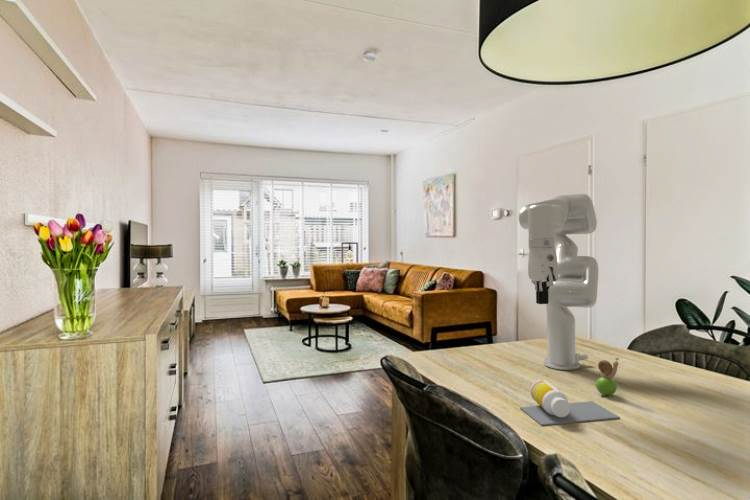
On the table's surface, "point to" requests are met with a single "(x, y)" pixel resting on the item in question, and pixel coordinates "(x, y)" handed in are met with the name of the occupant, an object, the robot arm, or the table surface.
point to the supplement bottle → (550, 398)
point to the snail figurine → (607, 377)
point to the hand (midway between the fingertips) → (542, 303)
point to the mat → (571, 414)
